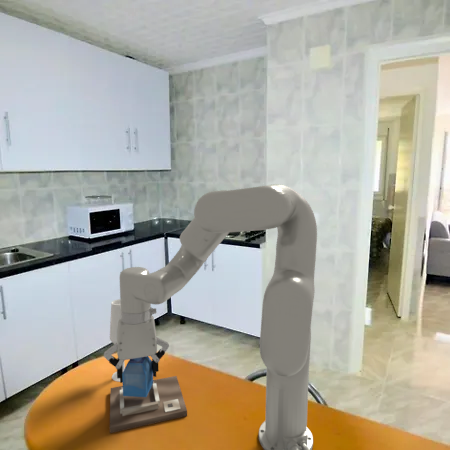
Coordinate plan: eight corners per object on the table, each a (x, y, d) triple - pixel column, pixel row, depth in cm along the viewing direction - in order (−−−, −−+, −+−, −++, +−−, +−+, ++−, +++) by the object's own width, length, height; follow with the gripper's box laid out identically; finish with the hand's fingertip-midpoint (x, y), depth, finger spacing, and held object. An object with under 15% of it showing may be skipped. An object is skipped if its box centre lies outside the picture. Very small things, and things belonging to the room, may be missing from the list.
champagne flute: (137, 369, 107) (134, 298, 103) (128, 382, 100) (125, 306, 97) (117, 368, 108) (114, 297, 104) (107, 380, 101) (103, 305, 98)
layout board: (187, 415, 86) (187, 405, 86) (110, 433, 80) (109, 421, 80) (176, 380, 101) (176, 371, 101) (110, 392, 95) (110, 383, 95)
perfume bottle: (153, 382, 92) (152, 342, 91) (146, 397, 86) (145, 353, 84) (131, 381, 93) (129, 341, 91) (123, 395, 87) (121, 352, 85)
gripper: (167, 305, 93) (168, 364, 95) (101, 313, 87) (104, 374, 90) (171, 316, 86) (172, 379, 88) (99, 325, 80) (103, 391, 83)
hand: (138, 376), depth 89 cm, fingers closed on perfume bottle, 8 cm apart
